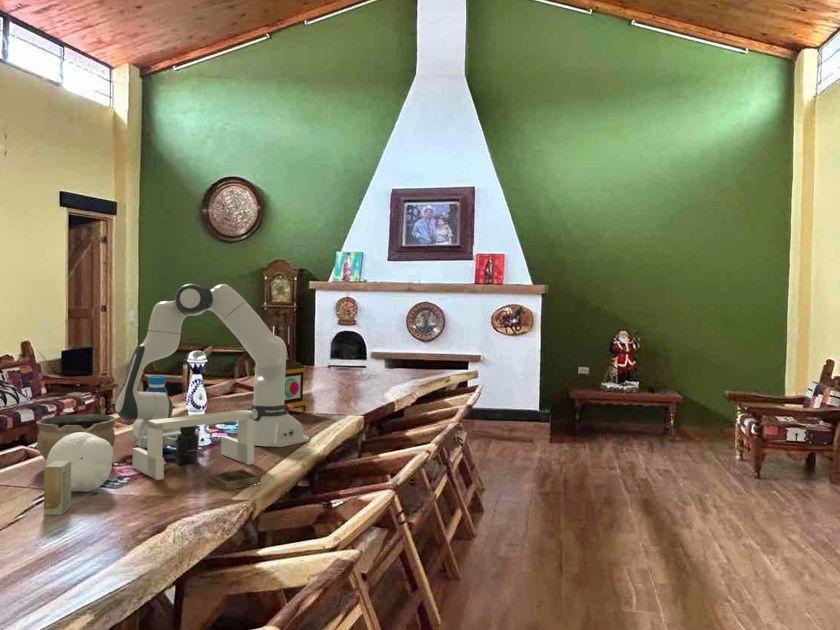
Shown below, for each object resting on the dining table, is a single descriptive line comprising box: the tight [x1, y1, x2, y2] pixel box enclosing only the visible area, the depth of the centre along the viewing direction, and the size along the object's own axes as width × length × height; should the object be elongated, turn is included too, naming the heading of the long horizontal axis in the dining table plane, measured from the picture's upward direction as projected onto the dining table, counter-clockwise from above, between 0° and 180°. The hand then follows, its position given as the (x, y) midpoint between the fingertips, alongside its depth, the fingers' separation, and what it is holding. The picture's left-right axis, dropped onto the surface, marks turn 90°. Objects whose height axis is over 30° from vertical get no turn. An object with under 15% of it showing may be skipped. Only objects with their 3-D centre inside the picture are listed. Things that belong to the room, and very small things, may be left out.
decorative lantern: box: [250, 350, 307, 413], centre depth 324 cm, size 20×20×30 cm
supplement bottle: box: [175, 425, 200, 466], centre depth 232 cm, size 7×7×12 cm
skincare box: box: [43, 461, 72, 516], centre depth 180 cm, size 6×4×12 cm
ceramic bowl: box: [35, 414, 117, 462], centre depth 223 cm, size 22×22×15 cm
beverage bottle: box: [145, 374, 169, 395], centre depth 287 cm, size 8×8×20 cm
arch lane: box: [132, 409, 255, 481], centre depth 228 cm, size 32×18×16 cm, turn 133°
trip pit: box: [207, 468, 262, 491], centre depth 210 cm, size 11×11×2 cm
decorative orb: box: [46, 432, 114, 493], centre depth 198 cm, size 20×18×16 cm
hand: (178, 441), depth 237 cm, fingers closed
